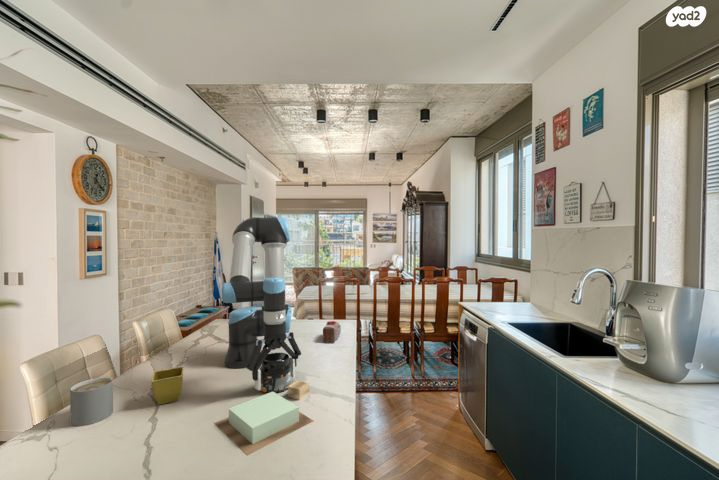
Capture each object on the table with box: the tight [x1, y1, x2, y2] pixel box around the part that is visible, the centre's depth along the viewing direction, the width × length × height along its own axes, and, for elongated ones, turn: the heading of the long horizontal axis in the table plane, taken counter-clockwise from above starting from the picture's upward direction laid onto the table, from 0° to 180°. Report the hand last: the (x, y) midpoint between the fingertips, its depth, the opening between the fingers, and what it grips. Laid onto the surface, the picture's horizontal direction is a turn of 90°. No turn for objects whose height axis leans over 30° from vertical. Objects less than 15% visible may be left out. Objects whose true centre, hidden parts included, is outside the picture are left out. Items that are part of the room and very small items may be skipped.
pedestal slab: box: [228, 392, 300, 444], centre depth 91 cm, size 14×14×4 cm
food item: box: [322, 320, 342, 344], centre depth 171 cm, size 14×8×10 cm, turn 173°
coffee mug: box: [69, 376, 114, 427], centre depth 100 cm, size 13×10×10 cm
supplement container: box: [259, 352, 292, 395], centre depth 113 cm, size 10×10×12 cm
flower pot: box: [150, 366, 184, 405], centre depth 108 cm, size 9×9×9 cm
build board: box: [213, 411, 314, 456], centre depth 91 cm, size 20×20×2 cm
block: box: [287, 380, 310, 401], centre depth 107 cm, size 5×5×5 cm
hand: (275, 382), depth 113 cm, fingers open, 13 cm apart
